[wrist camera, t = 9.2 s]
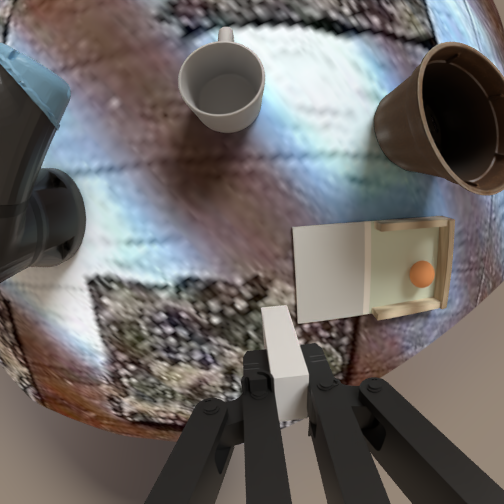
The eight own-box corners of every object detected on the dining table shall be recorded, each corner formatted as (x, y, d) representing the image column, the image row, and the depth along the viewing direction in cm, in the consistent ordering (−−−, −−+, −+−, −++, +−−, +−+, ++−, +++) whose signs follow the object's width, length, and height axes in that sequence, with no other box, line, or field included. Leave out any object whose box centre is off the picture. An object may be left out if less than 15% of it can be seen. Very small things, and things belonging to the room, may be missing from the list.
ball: (411, 294, 38) (435, 292, 37) (414, 271, 37) (439, 268, 36) (405, 278, 42) (428, 276, 41) (407, 256, 40) (431, 254, 39)
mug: (261, 133, 36) (265, 118, 26) (194, 134, 36) (174, 120, 26) (261, 51, 33) (266, 13, 23) (198, 52, 33) (182, 16, 23)
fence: (370, 311, 43) (378, 322, 40) (372, 220, 39) (382, 224, 36) (435, 299, 43) (446, 308, 39) (441, 215, 39) (454, 219, 36)
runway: (297, 321, 43) (297, 323, 43) (292, 227, 40) (292, 228, 39) (435, 299, 43) (437, 300, 42) (441, 215, 39) (444, 216, 39)
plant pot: (337, 99, 35) (387, 60, 20) (418, 64, 33) (482, 32, 18) (391, 203, 39) (461, 223, 23) (463, 158, 37) (536, 161, 21)
